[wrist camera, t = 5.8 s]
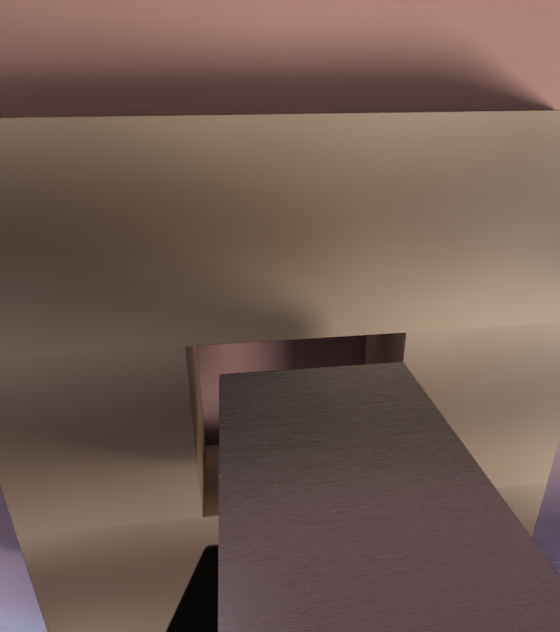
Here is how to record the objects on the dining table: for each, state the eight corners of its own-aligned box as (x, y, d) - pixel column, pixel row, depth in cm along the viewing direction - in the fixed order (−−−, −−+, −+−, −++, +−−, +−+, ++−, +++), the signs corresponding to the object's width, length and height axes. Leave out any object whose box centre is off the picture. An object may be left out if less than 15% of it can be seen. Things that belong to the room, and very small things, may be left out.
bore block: (472, 522, 18) (516, 593, 16) (81, 564, 17) (54, 651, 14) (557, 109, 12) (652, 109, 10) (-35, 117, 11) (-119, 120, 8)
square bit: (388, 500, 11) (696, 1214, 4) (230, 516, 11) (248, 1338, 4) (403, 362, 10) (949, 1106, 2) (219, 374, 9) (214, 1302, 2)
